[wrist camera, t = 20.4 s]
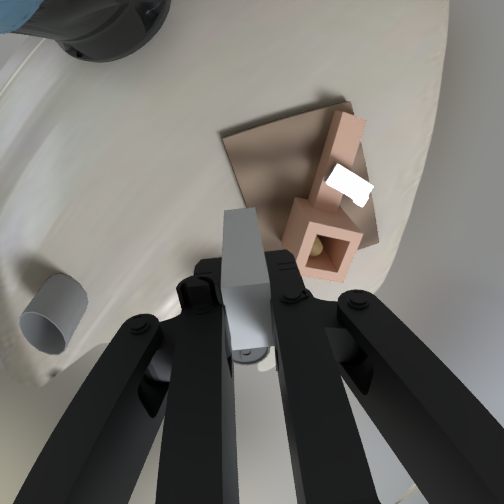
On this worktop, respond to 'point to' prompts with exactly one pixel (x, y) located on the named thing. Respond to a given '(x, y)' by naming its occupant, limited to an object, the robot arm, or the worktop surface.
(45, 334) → the cup
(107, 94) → the worktop surface
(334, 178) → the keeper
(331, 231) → the link
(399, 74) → the worktop surface
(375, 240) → the board
